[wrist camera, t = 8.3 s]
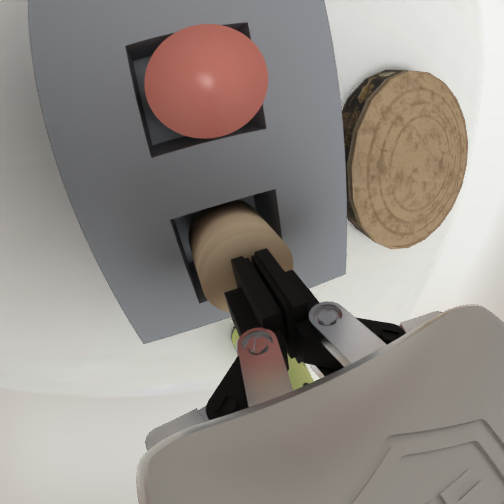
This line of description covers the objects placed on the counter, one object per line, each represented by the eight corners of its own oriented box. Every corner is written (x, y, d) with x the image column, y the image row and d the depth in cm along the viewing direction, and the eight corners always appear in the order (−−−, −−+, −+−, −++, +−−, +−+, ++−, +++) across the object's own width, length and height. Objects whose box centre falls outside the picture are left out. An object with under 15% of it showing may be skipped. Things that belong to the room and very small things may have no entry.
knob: (179, 211, 15) (189, 250, 11) (255, 189, 16) (289, 219, 12) (199, 275, 17) (214, 324, 14) (266, 254, 18) (296, 295, 15)
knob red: (140, 59, 10) (134, 39, 7) (228, 40, 11) (257, 18, 8) (159, 139, 13) (159, 153, 9) (243, 118, 14) (276, 125, 10)
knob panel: (54, -34, 6) (32, -64, 2) (260, -73, 9) (290, -104, 5) (142, 296, 20) (143, 344, 16) (311, 240, 23) (345, 273, 19)
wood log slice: (321, 248, 24) (340, 266, 22) (327, 54, 16) (352, 51, 13) (433, 222, 28) (452, 234, 26) (450, 86, 20) (472, 91, 17)
